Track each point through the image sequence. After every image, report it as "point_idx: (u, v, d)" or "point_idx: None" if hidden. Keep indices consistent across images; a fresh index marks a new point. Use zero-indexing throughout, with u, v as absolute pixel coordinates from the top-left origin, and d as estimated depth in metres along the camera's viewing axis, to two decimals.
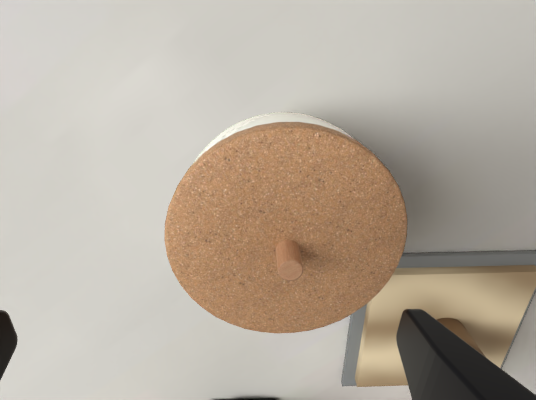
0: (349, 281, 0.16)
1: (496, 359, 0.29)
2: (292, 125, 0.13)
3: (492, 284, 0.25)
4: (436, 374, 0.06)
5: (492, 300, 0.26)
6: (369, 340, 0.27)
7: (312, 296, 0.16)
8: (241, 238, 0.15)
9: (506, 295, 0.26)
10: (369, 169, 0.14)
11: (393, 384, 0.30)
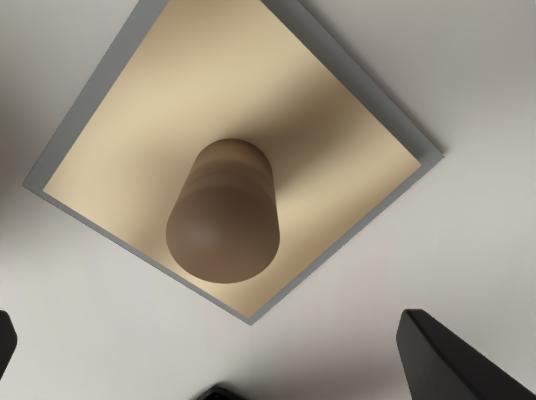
0: None
1: (368, 133, 0.15)
2: None
3: (174, 49, 0.13)
4: (436, 374, 0.06)
5: (214, 68, 0.13)
6: (167, 262, 0.17)
7: None
8: None
9: (219, 40, 0.13)
10: None
11: (287, 282, 0.18)
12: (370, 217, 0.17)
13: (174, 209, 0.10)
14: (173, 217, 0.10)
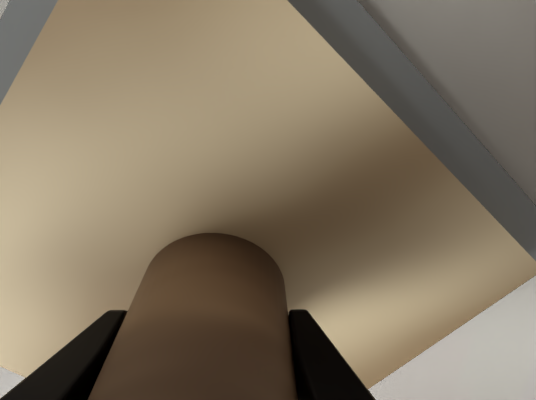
0: None
1: (458, 222, 0.08)
2: None
3: (93, 77, 0.06)
4: (297, 375, 0.06)
5: (175, 112, 0.07)
6: None
7: None
8: None
9: (181, 58, 0.06)
10: None
11: None
12: None
13: None
14: None
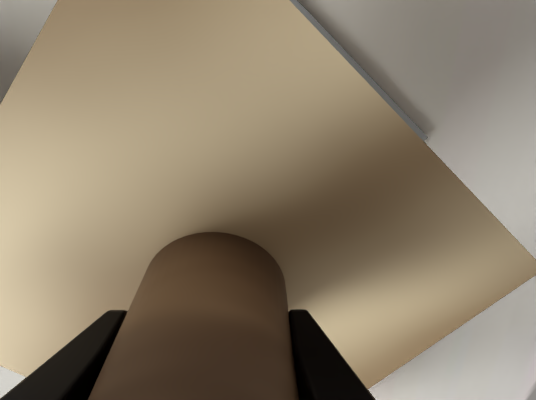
0: None
1: (459, 221, 0.08)
2: None
3: (93, 75, 0.06)
4: (297, 376, 0.06)
5: (175, 111, 0.07)
6: None
7: None
8: None
9: (182, 56, 0.06)
10: None
11: None
12: None
13: None
14: None
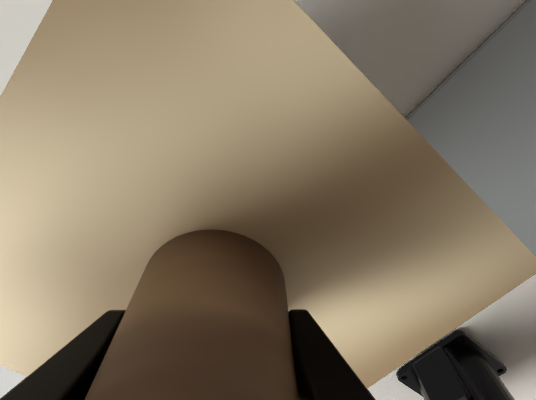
0: None
1: (459, 219, 0.08)
2: None
3: (91, 71, 0.06)
4: (297, 376, 0.06)
5: (174, 107, 0.07)
6: None
7: None
8: None
9: (180, 53, 0.06)
10: None
11: None
12: None
13: None
14: None
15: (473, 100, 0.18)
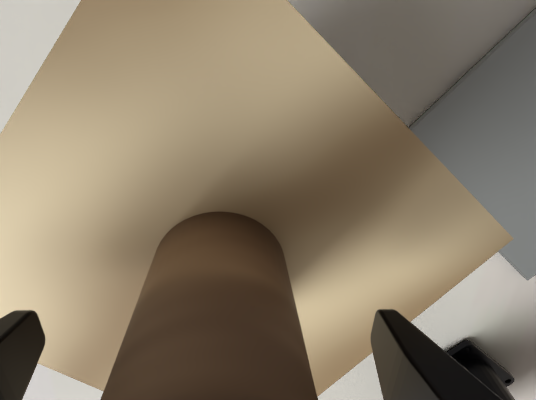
0: None
1: (438, 196, 0.09)
2: None
3: (111, 66, 0.07)
4: (403, 374, 0.06)
5: (185, 98, 0.08)
6: None
7: None
8: None
9: (192, 49, 0.07)
10: None
11: None
12: None
13: None
14: None
15: (487, 103, 0.18)
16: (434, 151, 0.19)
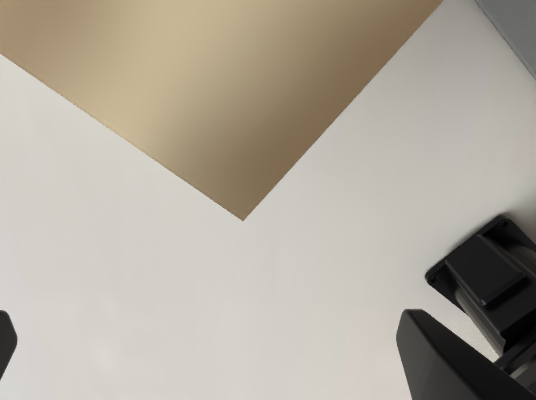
0: None
1: None
2: None
3: None
4: (436, 374, 0.06)
5: None
6: (60, 80, 0.08)
7: None
8: None
9: None
10: None
11: (319, 135, 0.09)
12: None
13: None
14: None
15: None
16: None
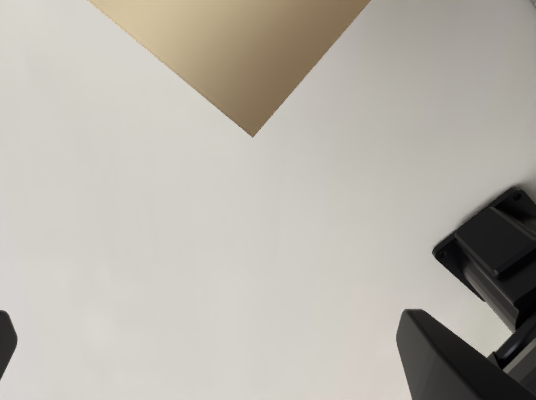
0: None
1: None
2: None
3: None
4: (436, 374, 0.06)
5: None
6: None
7: None
8: None
9: None
10: None
11: (340, 33, 0.08)
12: None
13: None
14: None
15: None
16: None
